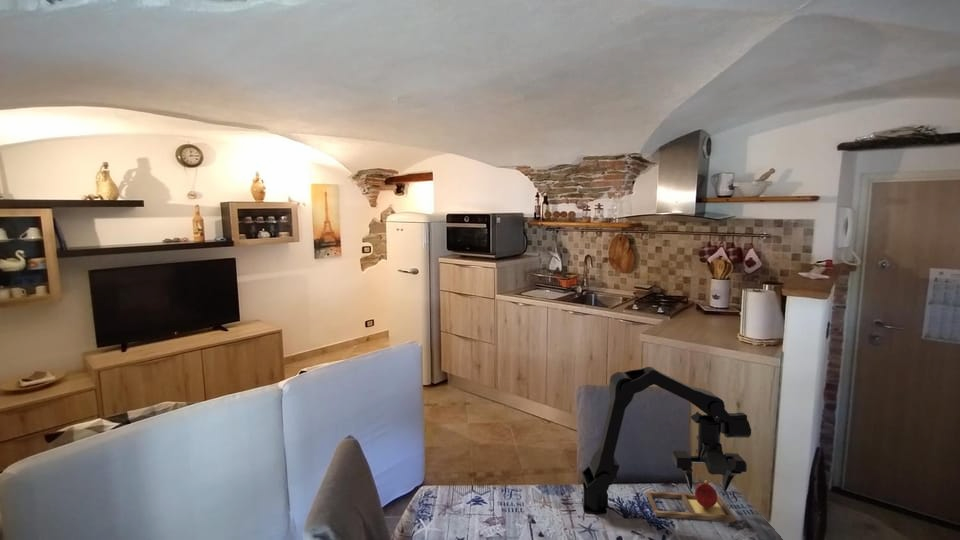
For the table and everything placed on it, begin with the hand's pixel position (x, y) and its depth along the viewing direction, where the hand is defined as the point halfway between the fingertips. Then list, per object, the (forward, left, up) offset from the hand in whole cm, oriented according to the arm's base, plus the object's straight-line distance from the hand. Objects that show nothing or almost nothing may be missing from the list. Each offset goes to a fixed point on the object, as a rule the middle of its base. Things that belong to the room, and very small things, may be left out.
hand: (707, 489), depth 131 cm
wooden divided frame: (-5, 0, -6) cm, 8 cm away
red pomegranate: (0, 0, -6) cm, 6 cm away
